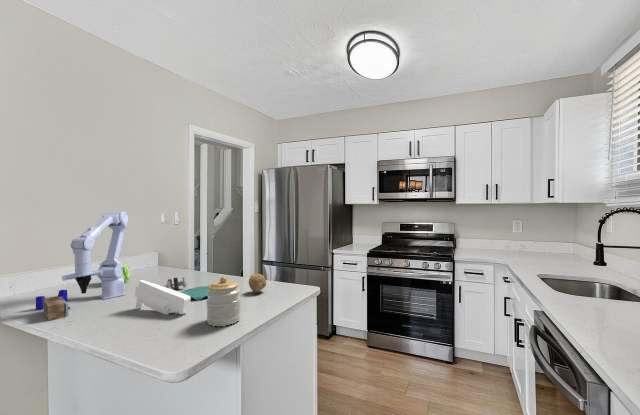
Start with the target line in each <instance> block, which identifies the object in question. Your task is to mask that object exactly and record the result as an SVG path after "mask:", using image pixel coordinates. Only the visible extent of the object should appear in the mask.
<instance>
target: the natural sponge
mask: <svg viewBox="0 0 640 415" xmlns="http://www.w3.org/2000/svg"><path fill="white" fill-rule="evenodd" d="M248 285H249V288H250V290H251V291H252V292H253V293H255V294H259V293H260V292H261V291H262V290H263V289H265V287H266V286H267V280H266V278H265V276H264V275H262V274H261V273H254V274H252V275H251V276H250V277H249V278H248Z"/></svg>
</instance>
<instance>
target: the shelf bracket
mask: <svg viewBox="0 0 640 415" xmlns="http://www.w3.org/2000/svg"><path fill="white" fill-rule="evenodd" d="M163 286H164V285H159V284H156V283H153V282H149V281H146V280H144V279H142V280H139V281H138V286H136V287H135V293H134V297H136V303H135V310H139V309H141V308H143V307H147V308H150V309H152V310H154V311H156V312H158V313H160V314H162V315H169V313H170V314H172V313H178V314H180V315H183V314H185V313H187V312H189V311H190V306H191V300H192V299H191V297H190V296H188V295H186V294H183V293H180V292H181V291H178V290H175V289H173V290H172V289H169V288H166V287H163Z"/></svg>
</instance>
